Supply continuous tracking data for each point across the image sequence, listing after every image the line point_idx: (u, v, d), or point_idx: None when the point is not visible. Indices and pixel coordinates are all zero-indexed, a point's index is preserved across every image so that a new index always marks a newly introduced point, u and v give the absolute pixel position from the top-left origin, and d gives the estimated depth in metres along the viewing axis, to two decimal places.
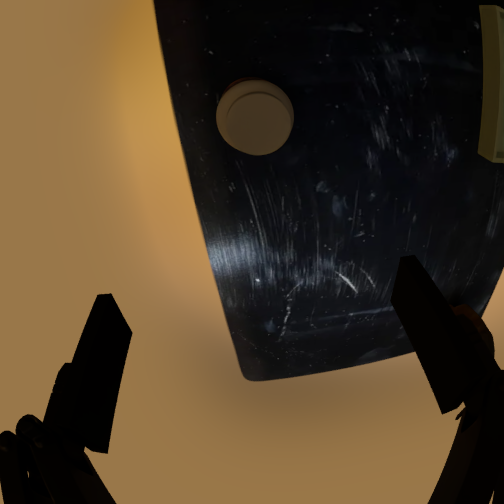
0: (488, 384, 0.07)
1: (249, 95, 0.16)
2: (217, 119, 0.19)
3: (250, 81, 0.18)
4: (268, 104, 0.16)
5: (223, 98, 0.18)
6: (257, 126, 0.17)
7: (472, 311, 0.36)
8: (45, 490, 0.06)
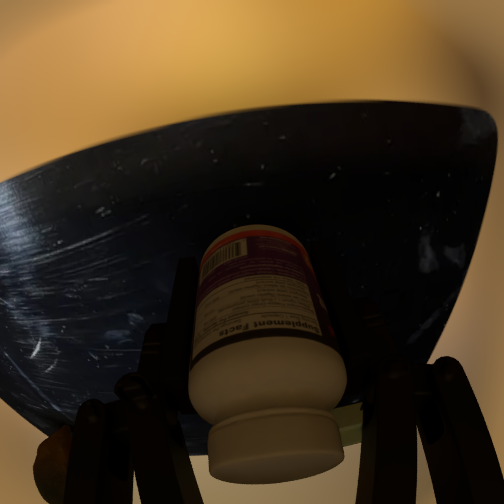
0: (375, 374, 0.08)
1: (342, 456, 0.07)
2: (272, 358, 0.08)
3: (345, 384, 0.09)
4: (317, 470, 0.07)
5: (323, 362, 0.08)
6: (273, 472, 0.07)
7: None
8: (117, 467, 0.08)
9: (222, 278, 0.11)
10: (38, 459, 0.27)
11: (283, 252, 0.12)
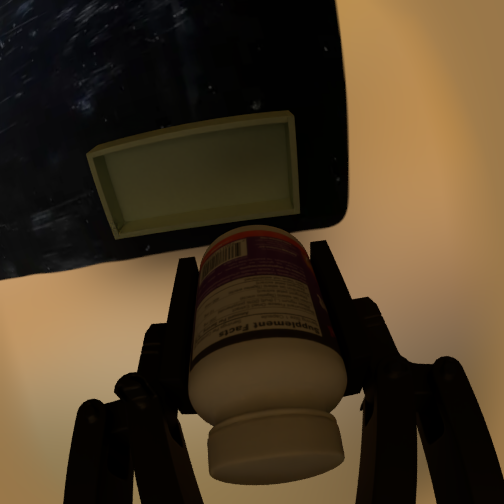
0: (375, 374, 0.08)
1: (342, 457, 0.07)
2: (272, 359, 0.08)
3: (345, 385, 0.09)
4: (317, 471, 0.07)
5: (323, 363, 0.08)
6: (273, 473, 0.07)
7: None
8: (117, 467, 0.08)
9: (222, 279, 0.11)
10: None
11: (283, 252, 0.12)
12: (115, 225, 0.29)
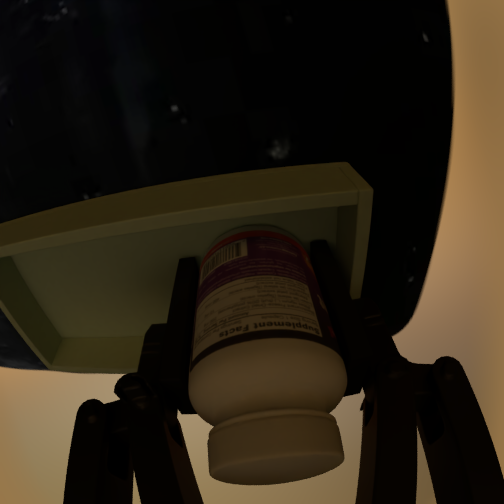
0: (375, 374, 0.08)
1: (342, 458, 0.07)
2: (272, 359, 0.08)
3: (346, 385, 0.09)
4: (317, 471, 0.07)
5: (323, 364, 0.08)
6: (273, 473, 0.07)
7: None
8: (117, 467, 0.08)
9: (222, 279, 0.11)
10: None
11: (283, 252, 0.12)
12: (43, 355, 0.15)
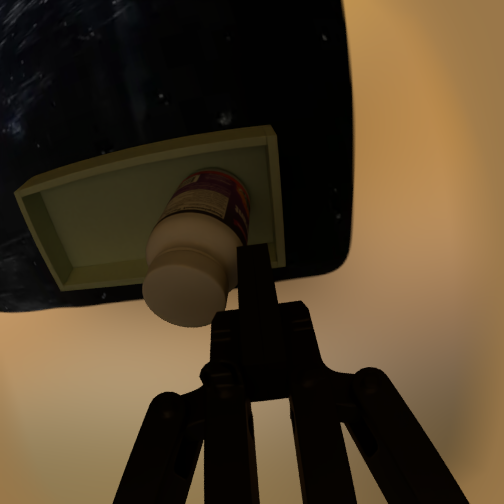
0: (289, 385, 0.09)
1: (222, 292, 0.13)
2: (186, 221, 0.14)
3: None
4: (211, 309, 0.14)
5: (217, 229, 0.14)
6: (180, 298, 0.14)
7: None
8: (179, 463, 0.08)
9: (178, 193, 0.17)
10: None
11: (220, 181, 0.18)
12: (58, 276, 0.22)
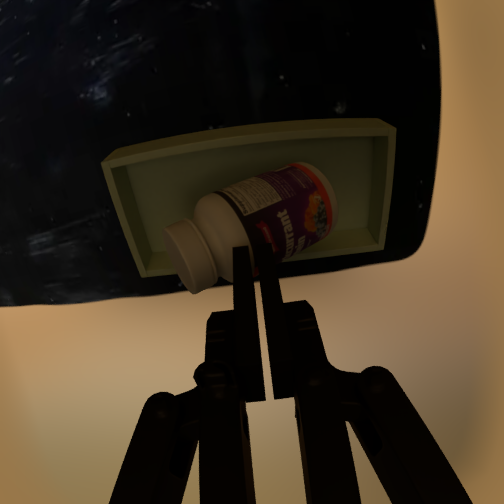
0: (295, 384, 0.09)
1: (190, 273, 0.15)
2: (210, 203, 0.16)
3: None
4: (189, 282, 0.16)
5: (225, 222, 0.15)
6: (176, 259, 0.16)
7: None
8: (174, 463, 0.08)
9: (255, 176, 0.18)
10: None
11: (295, 180, 0.17)
12: (142, 260, 0.22)
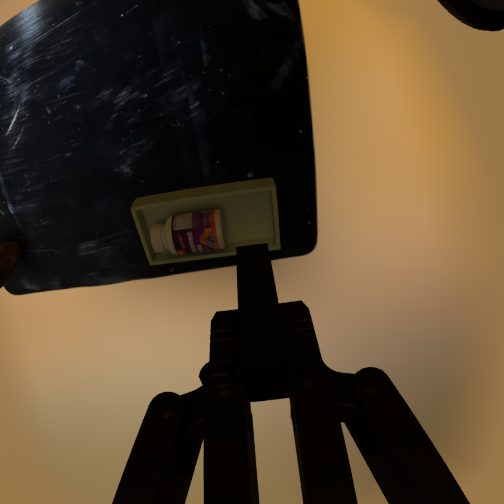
0: (290, 384, 0.09)
1: (152, 244, 0.39)
2: (167, 221, 0.39)
3: (170, 246, 0.39)
4: None
5: (166, 230, 0.38)
6: None
7: (15, 257, 0.38)
8: (179, 463, 0.08)
9: (195, 212, 0.40)
10: None
11: (203, 220, 0.38)
12: (150, 256, 0.43)
